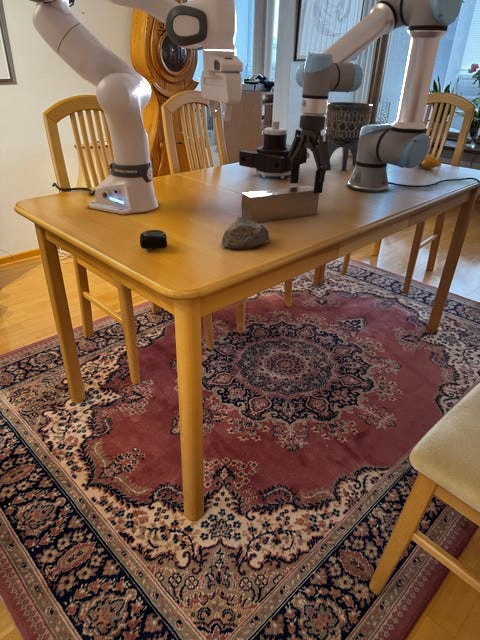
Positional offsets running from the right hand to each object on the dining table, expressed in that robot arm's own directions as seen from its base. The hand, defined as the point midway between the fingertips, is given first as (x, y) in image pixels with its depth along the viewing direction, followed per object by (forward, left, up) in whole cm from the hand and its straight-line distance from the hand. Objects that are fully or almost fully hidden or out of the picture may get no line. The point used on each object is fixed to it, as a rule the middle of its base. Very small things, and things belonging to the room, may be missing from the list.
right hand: (305, 188), depth 143 cm
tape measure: (+40, +37, -8) cm, 55 cm away
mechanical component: (+7, -57, -8) cm, 58 cm away
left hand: (+26, +7, +20) cm, 34 cm away
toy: (-61, -80, -8) cm, 101 cm away
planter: (-21, -75, -8) cm, 78 cm away
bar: (+8, +4, -8) cm, 12 cm away
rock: (+16, +31, -8) cm, 36 cm away
